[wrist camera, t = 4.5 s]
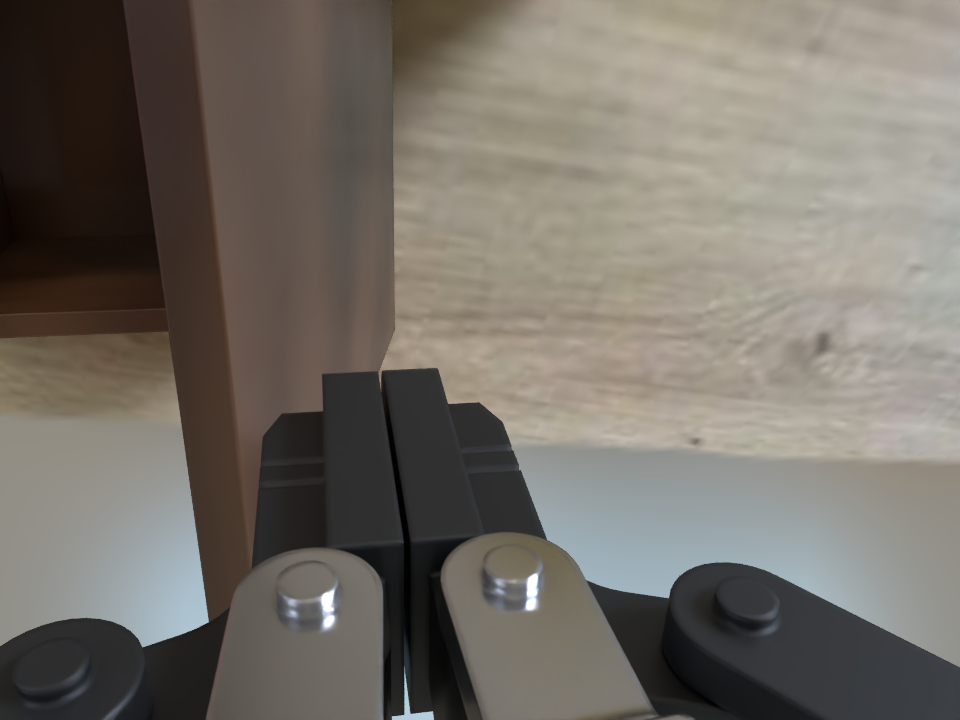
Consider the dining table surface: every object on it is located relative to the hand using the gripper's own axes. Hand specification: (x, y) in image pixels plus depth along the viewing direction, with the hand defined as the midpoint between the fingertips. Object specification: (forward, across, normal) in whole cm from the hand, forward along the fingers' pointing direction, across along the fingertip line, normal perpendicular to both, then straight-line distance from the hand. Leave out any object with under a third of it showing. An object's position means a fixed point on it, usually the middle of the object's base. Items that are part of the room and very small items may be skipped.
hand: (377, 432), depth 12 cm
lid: (+9, +1, 0) cm, 9 cm away
